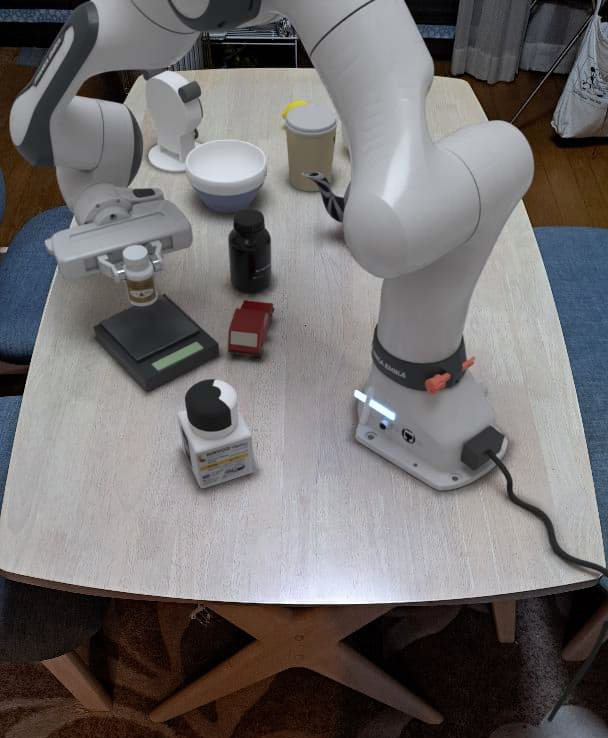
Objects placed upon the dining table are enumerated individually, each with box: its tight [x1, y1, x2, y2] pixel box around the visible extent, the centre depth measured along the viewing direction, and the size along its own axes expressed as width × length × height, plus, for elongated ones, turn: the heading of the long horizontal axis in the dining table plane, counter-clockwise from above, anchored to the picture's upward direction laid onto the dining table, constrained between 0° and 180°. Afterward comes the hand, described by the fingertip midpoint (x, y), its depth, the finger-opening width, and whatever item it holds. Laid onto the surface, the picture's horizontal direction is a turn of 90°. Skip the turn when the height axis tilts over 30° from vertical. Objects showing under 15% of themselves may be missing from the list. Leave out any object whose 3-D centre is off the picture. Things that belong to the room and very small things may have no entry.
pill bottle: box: [122, 245, 159, 306], centre depth 115 cm, size 4×4×8 cm
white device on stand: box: [142, 68, 204, 173], centre depth 150 cm, size 12×11×15 cm
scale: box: [92, 293, 221, 393], centre depth 123 cm, size 15×13×3 cm
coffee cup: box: [284, 103, 339, 193], centre depth 147 cm, size 9×9×12 cm
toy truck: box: [227, 299, 276, 359], centre depth 124 cm, size 6×12×5 cm, turn 170°
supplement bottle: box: [227, 208, 272, 295], centre depth 129 cm, size 7×7×12 cm
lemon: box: [281, 99, 310, 121], centre depth 161 cm, size 7×5×5 cm
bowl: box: [185, 138, 268, 213], centre depth 145 cm, size 14×14×8 cm
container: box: [176, 378, 255, 489], centre depth 106 cm, size 8×8×13 cm
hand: (140, 272), depth 114 cm, fingers closed on pill bottle, 4 cm apart
